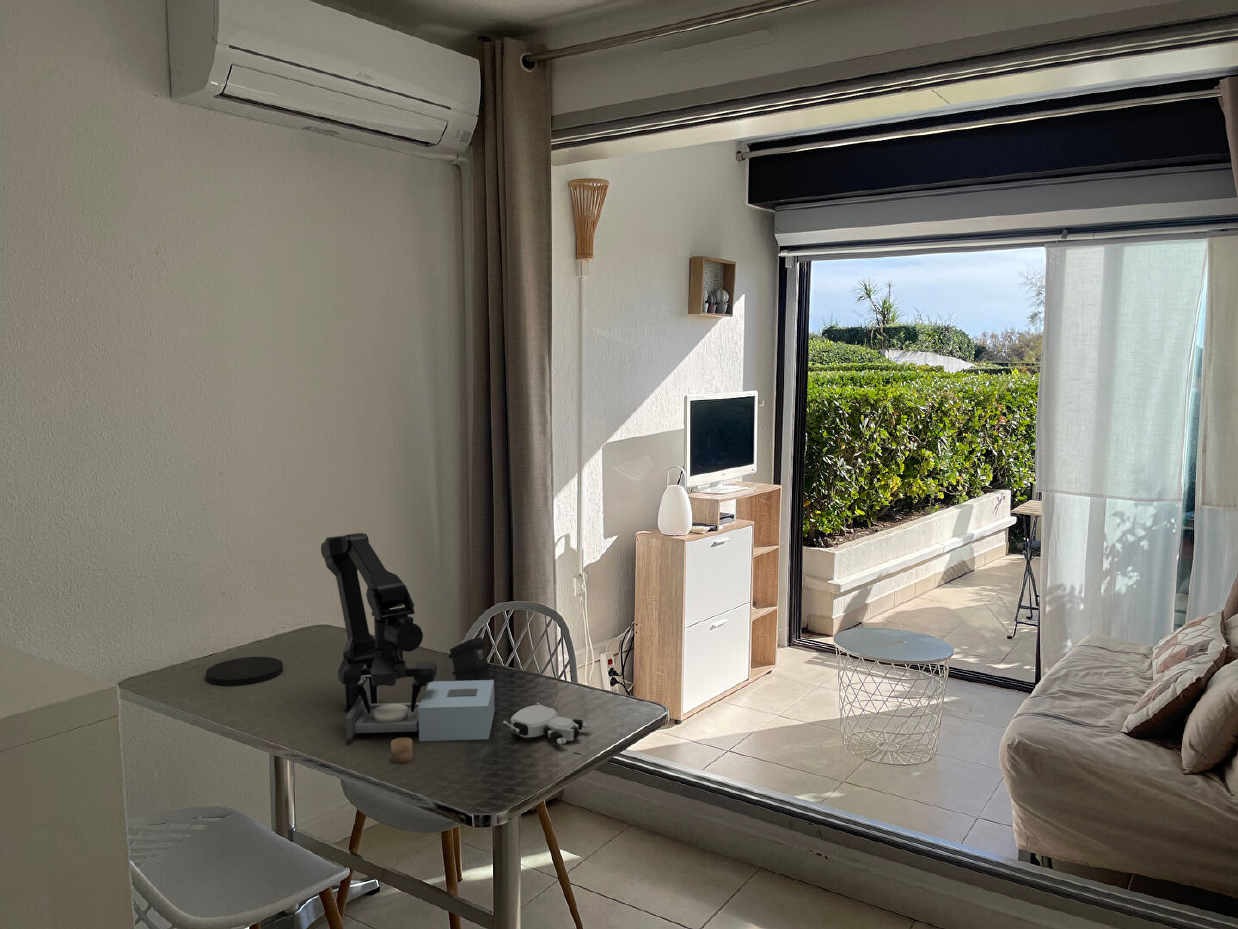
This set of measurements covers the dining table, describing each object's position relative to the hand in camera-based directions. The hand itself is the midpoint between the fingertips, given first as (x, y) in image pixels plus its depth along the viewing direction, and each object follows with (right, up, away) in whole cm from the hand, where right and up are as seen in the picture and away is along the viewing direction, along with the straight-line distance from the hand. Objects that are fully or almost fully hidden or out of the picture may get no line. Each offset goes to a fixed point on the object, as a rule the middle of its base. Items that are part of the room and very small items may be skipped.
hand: (391, 712), depth 195 cm
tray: (-1, -2, 0) cm, 2 cm away
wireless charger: (-45, -1, +36) cm, 58 cm away
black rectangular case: (+14, -2, +17) cm, 22 cm away
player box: (+14, -3, +1) cm, 14 cm away
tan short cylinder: (+6, -5, -16) cm, 18 cm away
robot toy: (+33, -4, -5) cm, 34 cm away
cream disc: (0, -1, 0) cm, 1 cm away
